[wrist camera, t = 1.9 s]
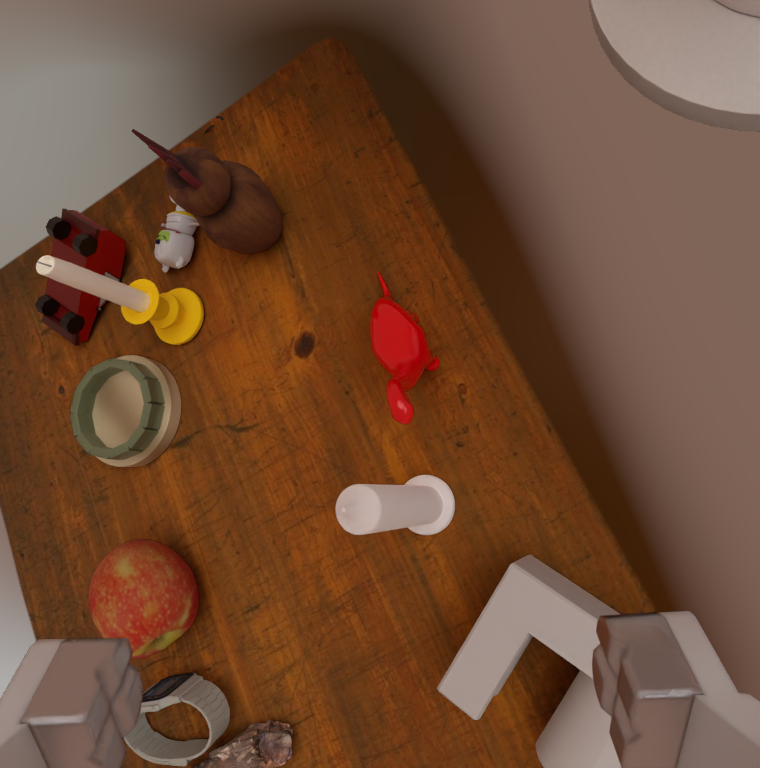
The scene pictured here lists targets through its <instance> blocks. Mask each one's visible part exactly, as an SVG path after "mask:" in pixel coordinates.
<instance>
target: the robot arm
mask: <svg viewBox="0 0 760 768" xmlns="http://www.w3.org/2000/svg"><path fill="white" fill-rule="evenodd" d="M716 1H717V2H719V3H720V4H722V5H724V6H726V7H728V8H730V9H732V10H735V11H737V12H740V13H743V14H747V15H751V16H756V17H760V0H716ZM596 633H597V636H598V639H599V641H600V644H599V645H598V646H597V647H596V648H595V649H594V650H593V658H592V672H593V682H594V686H595V690H596V695H597V698H598V701H599V704H600V707H601V708H602V709H603V710H604V711H605V712H606V713H607V714H609V715H610V716H611V724H610V730H609V733H610V736H611V739H612V742H613V745H614V748H615V751H616V753H617V756H618V759H619V762H620V765H621V768H760V701H758V700H757V699H755V698H754V697H753V696H751V695H750V694H748V693H738V691H737V689H736V688H735V686H734V684H733V682H732V681H731V679H730V677H729V675H728V673H727V672H726V670H725V668H724V666H723V665H722V663H721V661H720V659H719V658H718V656H717V654H716V652H715V650H714V649H713V647H712V645H711V644H710V642H709V640H708V638H707V636H706V635H705V633H704V631H703V629H702V627H701V626H700V624H699V622H698V620H697V619H696V617H695V616H694V615H693V614H692V613H691V612H690V611H683V612H663V613H662V612H661V613H656V612H655V613H637V614H619V615H602V616H600V617H599V619H598V621H597V627H596ZM132 653H133V650H132V647H131V645H130V642H129V639H128V638H67V639H40V640H37V641H36V642H35V643H34V644H33V645H32V646H31V647H30V648H29V649H28V651H27V653H26V655H25V656H24V658H23V660H22V662H21V663H20V665H19V667H18V669H17V670H16V672H15V674H14V676H13V678H12V679H11V681H10V683H9V685H8V686H7V688H6V690H5V692H4V693H3V695H2V697H1V699H0V768H121V767H122V764H123V761H124V759H125V756H126V753H127V752H126V749H125V746H124V743H123V740H122V739H124V738H125V737H126V736H127V735H128V734H129V733H130V732H131V731H132V730H133V729H134V728H135V727H136V724H137V721H138V718H139V714H140V711H141V704H142V697H143V687H142V678H141V675H140V672H139V669H137V668H136V667H135V666H133V665H132V664H131V663H129V661H130V659H131V656H132Z"/></svg>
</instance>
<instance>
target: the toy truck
mask: <svg viewBox="0 0 760 768" xmlns="http://www.w3.org/2000/svg"><path fill="white" fill-rule="evenodd" d="M46 229H47V232H48V234H49V235H51V236H53V237H54V239H53V246H52V253H51V256H52V257H55V258H58V259H61V260H64V261H67V262H70V263H72V264H75V265H77V266H80V267H83V268H85V269H88V270H90V271H93V272H95V273H98V274H100V275H103V276H105V277H108V278H110V279H113V280H115V281H118V282H119V281H120V277H121V272H122V266H123V261H124V254H125V247H126V241H125V240H123V239H122V238H120V237H118V236H117V235H115V234H114V233H112V232H111V231H109V230H107V229H106V228H104V227H103V226H101V225H99V224H98V223H96V222H94V221H93V220H91V219H89V218H88V217H86V216H84V215H83V214H81V213H79V212H77V211H74V210H67V209H62V218H59V217H54V218H52V219H50V220H49V221H48V223H47V226H46ZM46 294H48V295H46ZM46 294H45V295H43V296H41V297H40V298H38V300H37V302H36V307H37V310H38V311H39V312H40V313H42V314H43V318H42V322H44V323H45V324H46V325H48V326H49V327H51V328H52V329H53V330H55V331H56V332H58V333H59V334H60V335H62V336H63V337H65V338H66V339H67V340H69V341H70V342H72V343H73V344H74V345H78V346H79V343H80V342H85V341H88V338H89V335H90V332H91V328H92V325H93V323H94V320H95V317H96V314H97V312H98V311H99V312H102V309H101V307H102V306H103V305H104V304H105V303H106V302H107V301H108V300H106V299H103V298H100V297H98V296H95V295H92V294H90V293H87V292H84V291H82V290H79V289H76V288H74V287H71V286H69V285H66V284H63V283H61V282H58V281H55V280H53V279H51V278H49V277H48V281H47V288H46Z"/></svg>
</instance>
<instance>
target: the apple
mask: <svg viewBox="0 0 760 768" xmlns="http://www.w3.org/2000/svg"><path fill="white" fill-rule="evenodd" d="M89 607H90V611H91V615H92V619H93V621H94V624H95V626H96V628H97V630H98V632H99V633H100V635H101V637H102V638H128V639H129V642H130V645H131V647H132V650H133V653H132V656H131V658H146V657H149V656H151V655H154V654H156V653H158V652H160V651H162V650H163V649H165V648H166V647H168V646H169V645H170V644H172V643H173V642H174V641H175V640H176V639H178V638H179V637H180V636H181V635H183V633H184V632H186V631H187V630H188V629H189V628H190V627H191V625H192V624H193V622H194V620H195V619H196V615H197V612H198V607H199V592H198V586H197V582H196V580H195V577H194V575H193V572H192V571H191V569H190V568H189V566H188V565H187V563H186V562H185V561H184V560H183V559H182V557H180V556H179V555H178V554H177V553H176V552H175V551H174V550H172V549H171V548H169V547H168V546H166V545H164V544H162V543H160V542H157V541H153V540H148V539H139V540H134V541H129V542H126V543H123V544H121V545H119V546H118V547H116V548H115V549H113V550H112V551H111V552H110V553H109V554H108V555H107V556H106V557H105V558H104V559H103V560H102V562H101V563H100V565H99V566H98V567H97V569H96V571H95V573H94V575H93V577H92V580H91V583H90V588H89Z"/></svg>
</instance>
